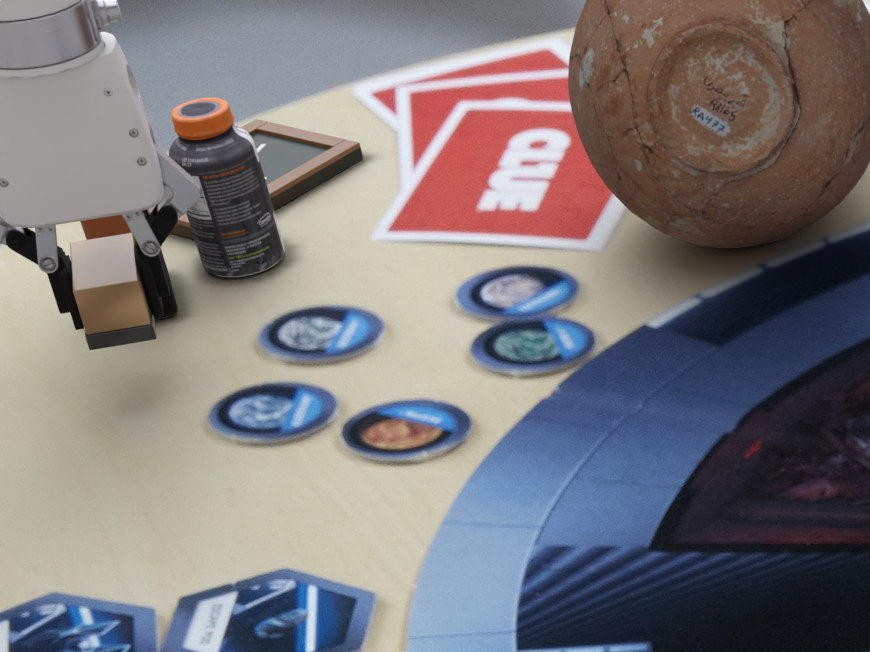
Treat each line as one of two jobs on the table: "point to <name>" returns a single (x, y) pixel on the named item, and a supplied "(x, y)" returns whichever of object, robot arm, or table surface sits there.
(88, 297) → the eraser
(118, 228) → the battery
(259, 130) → the board
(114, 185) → the robot arm
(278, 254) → the pill bottle
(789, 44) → the jug
